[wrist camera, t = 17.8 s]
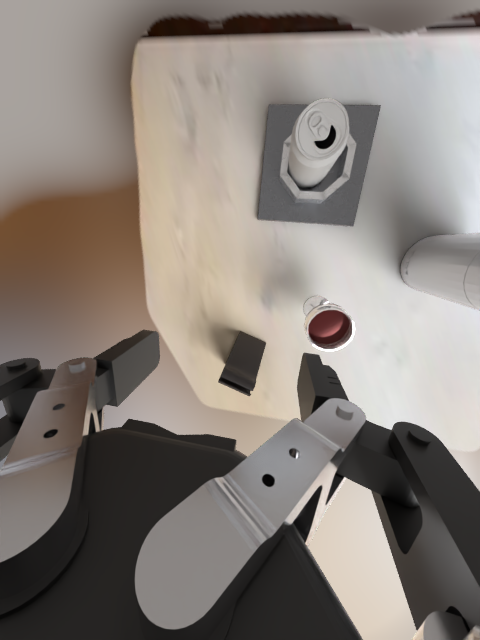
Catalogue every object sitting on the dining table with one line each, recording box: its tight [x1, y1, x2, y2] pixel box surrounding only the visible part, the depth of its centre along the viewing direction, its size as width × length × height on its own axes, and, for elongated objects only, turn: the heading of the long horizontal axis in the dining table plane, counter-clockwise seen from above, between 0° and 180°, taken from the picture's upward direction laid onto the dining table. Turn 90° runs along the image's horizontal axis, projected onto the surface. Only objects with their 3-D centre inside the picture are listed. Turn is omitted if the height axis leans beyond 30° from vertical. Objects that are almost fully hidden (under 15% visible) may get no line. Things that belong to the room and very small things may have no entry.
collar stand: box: [258, 105, 381, 226], centre depth 34 cm, size 16×16×4 cm
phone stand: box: [218, 332, 266, 396], centre depth 43 cm, size 9×6×12 cm, turn 157°
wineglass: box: [303, 296, 355, 351], centre depth 38 cm, size 7×7×12 cm
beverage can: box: [288, 98, 349, 188], centre depth 30 cm, size 6×6×12 cm
